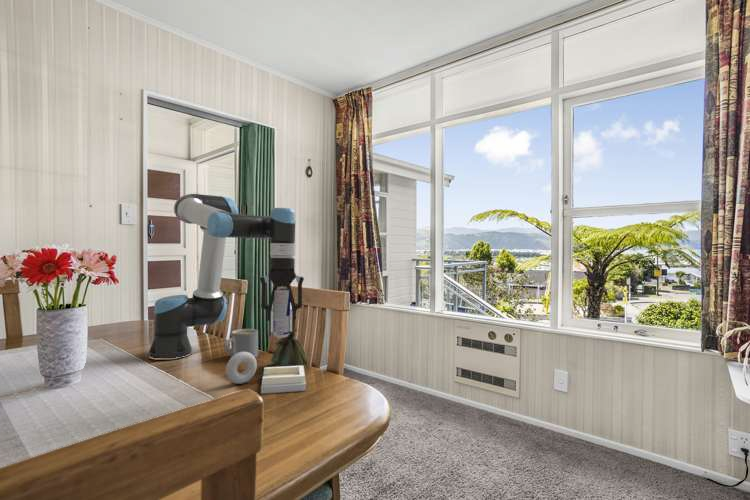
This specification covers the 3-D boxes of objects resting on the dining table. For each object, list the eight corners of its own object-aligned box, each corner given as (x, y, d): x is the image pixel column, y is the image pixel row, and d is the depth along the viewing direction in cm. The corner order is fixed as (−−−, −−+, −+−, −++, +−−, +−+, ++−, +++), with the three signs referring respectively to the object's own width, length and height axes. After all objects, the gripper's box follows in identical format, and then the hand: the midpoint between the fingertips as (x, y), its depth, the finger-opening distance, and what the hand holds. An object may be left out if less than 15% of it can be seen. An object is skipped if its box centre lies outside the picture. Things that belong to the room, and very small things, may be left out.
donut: (253, 378, 127) (254, 348, 127) (258, 381, 124) (259, 350, 124) (223, 385, 120) (224, 353, 120) (228, 388, 117) (228, 355, 117)
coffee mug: (252, 352, 159) (252, 327, 159) (261, 357, 151) (261, 332, 152) (218, 357, 151) (219, 331, 151) (226, 363, 143) (227, 336, 143)
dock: (264, 376, 129) (264, 364, 129) (303, 374, 132) (303, 362, 132) (260, 393, 114) (261, 380, 114) (305, 390, 117) (305, 377, 117)
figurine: (286, 358, 150) (287, 307, 150) (317, 363, 144) (318, 310, 144) (261, 368, 137) (262, 312, 137) (293, 374, 131) (294, 316, 131)
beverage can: (292, 335, 123) (293, 288, 123) (284, 338, 118) (284, 289, 118) (278, 334, 125) (279, 287, 125) (269, 337, 120) (270, 289, 120)
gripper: (251, 257, 116) (250, 334, 116) (312, 257, 120) (311, 332, 120) (253, 256, 123) (252, 329, 123) (310, 257, 127) (309, 327, 127)
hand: (281, 330), depth 122 cm, fingers closed on beverage can, 5 cm apart
